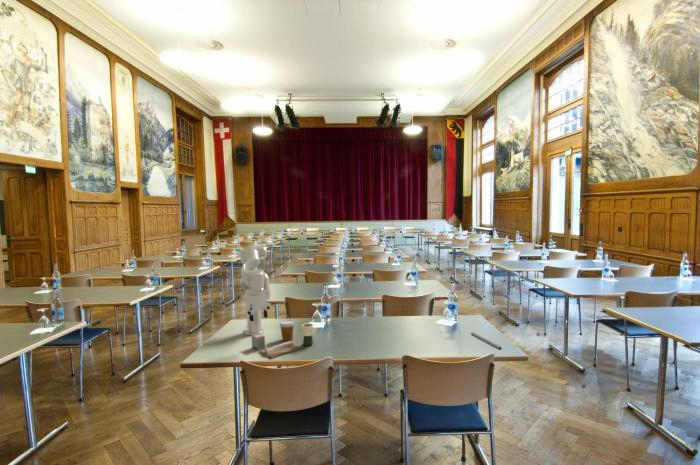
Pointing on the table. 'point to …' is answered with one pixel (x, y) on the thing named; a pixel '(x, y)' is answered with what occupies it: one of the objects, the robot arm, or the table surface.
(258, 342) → the block
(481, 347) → the table surface
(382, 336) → the table surface
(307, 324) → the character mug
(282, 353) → the rail board
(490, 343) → the metal rod
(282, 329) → the disposable coffee cup
